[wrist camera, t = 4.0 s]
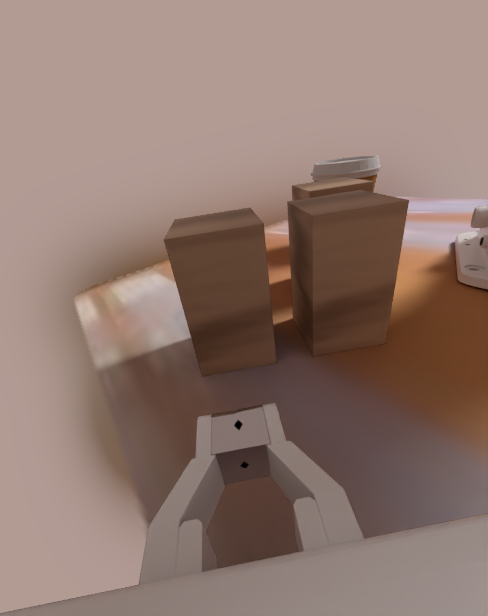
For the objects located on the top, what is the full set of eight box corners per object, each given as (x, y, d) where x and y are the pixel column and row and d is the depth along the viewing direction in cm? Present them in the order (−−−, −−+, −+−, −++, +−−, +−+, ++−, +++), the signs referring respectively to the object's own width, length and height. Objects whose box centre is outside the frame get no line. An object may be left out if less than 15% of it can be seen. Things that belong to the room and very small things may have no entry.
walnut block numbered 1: (385, 343, 22) (409, 200, 16) (313, 356, 22) (312, 215, 16) (350, 306, 27) (359, 189, 22) (292, 316, 27) (286, 201, 22)
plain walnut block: (276, 363, 22) (263, 223, 16) (202, 376, 21) (163, 239, 16) (263, 323, 27) (250, 207, 21) (203, 333, 27) (174, 219, 21)
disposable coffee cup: (329, 232, 50) (331, 159, 44) (383, 237, 44) (393, 152, 38) (300, 248, 45) (297, 166, 39) (356, 256, 38) (364, 161, 33)
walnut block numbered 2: (363, 288, 30) (373, 181, 25) (310, 297, 30) (309, 191, 24) (339, 268, 36) (344, 177, 30) (295, 276, 35) (291, 185, 30)
